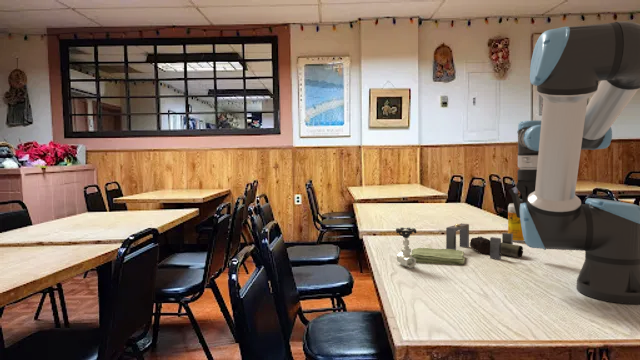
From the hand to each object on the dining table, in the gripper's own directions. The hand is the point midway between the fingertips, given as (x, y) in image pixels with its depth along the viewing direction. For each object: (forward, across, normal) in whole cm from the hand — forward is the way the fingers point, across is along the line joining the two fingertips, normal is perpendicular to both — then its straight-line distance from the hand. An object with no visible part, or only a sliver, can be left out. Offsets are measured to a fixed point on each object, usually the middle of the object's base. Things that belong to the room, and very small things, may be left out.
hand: (529, 239), depth 134 cm
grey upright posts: (+7, -17, -1) cm, 18 cm away
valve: (+7, -26, -34) cm, 43 cm away
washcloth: (+7, -23, -19) cm, 31 cm away
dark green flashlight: (+7, -12, +1) cm, 14 cm away
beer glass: (+8, -14, +28) cm, 32 cm away
